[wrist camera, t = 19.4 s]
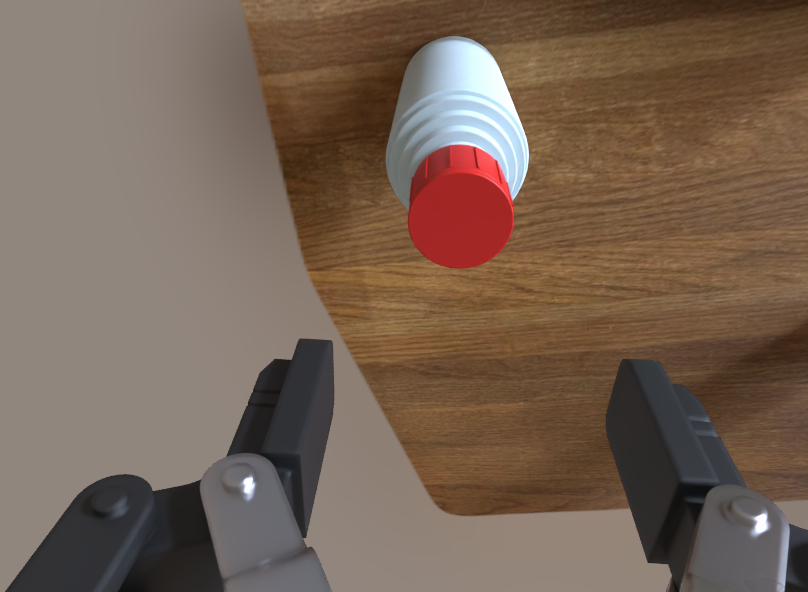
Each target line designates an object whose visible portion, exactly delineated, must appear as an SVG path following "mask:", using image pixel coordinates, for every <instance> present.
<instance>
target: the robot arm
mask: <svg viewBox="0 0 808 592" xmlns="http://www.w3.org/2000/svg"><path fill="white" fill-rule="evenodd" d="M333 365H334V364H333V343H332V341H331V340H318V339H317V340H316V339H299V341H298V343H297V346H296V349H295V352H294V355H293V358H292V360H284V359H274V360H273V361H272V362H271V363H270V364H269V365H268V366H267V367H266V368H265V369H264V370H262V371H261V372H260V374H259V377H258V379H257V381H256V384H255V387H254V389H253V393H252V394H251V396H250V399H249V401H248V406H247V407H246V409H245V411H244V414H243V416H242V419H241V421H240V424H239V427H238V429H237V432H236V434H235V437H234V439H233V441H232V444H231V446H230V449H229V451H228V454H227V456H226V457H225V458H223V459H221V460H219V461H217V462H216V463H214V464H213V465H212V466H211V467H210V468H208V470H207V471H206V472H205V474H204V475H203V477H202V479H201V480H199V481H196V482H194V483H191V484H187V485H183V486H178V487H173V488H167V489H162V490H157V491H152V488H151V486H150V484H149V483H148V482H147V481H145V480H144V479H143V478H141V477H138V476H134V475H127V474H123V475H115V476H110V477H106V478H103V479H101V480H99V481H96V482H95V483H93V484H91V485H90V486H88V487H87V488H85V489H84V490H83V491H82V492H81V493H79V494H78V495H77V497H76V498H75V499H74V500H73V502H72V503H71V504H70V506H69V507H68V508H67V510H66V511H65V512H64V514H63V515H62V516H61V518H60V519H59V520H58V522H57V523H56V524H55V526H54V527H53V528H52V530H51V531H50V532H49V534H48V535H47V536H46V538H45V539H44V540H43V542H42V543H41V545H40V546H39V547H38V548H37V550H36V551H35V552H34V554H33V555H32V556H31V558H30V559H29V561H28V562H27V563H26V564H25V566H24V567H23V569H22V570H21V571H20V572H19V574H18V575H17V577H16V578H15V579H14V581H13V582H12V583H11V585H10V586H9V587H8V589H7V590H6V591H5V592H332V590H331V588H330V585H329V583H328V581H327V578H326V575H325V573H324V570H323V568H322V566H321V563H320V561H319V558H318V556H317V554H316V552H315V550H314V549H313V548H312V547H309V548H307V546H306V544H305V542H304V540H303V538H306V536H307V531H308V526H309V522H310V517H311V513H312V508H313V504H314V499H315V494H316V490H317V485H318V480H319V476H320V472H321V467H322V462H323V458H324V453H325V449H326V444H327V439H328V434H329V430H330V425H331V421H332V416H333V408H334V407H333V406H334V366H333ZM606 432H607V437H608V441H609V444H610V447H611V450H612V453H613V456H614V459H615V462H616V466H617V469H618V472H619V475H620V478H621V481H622V484H623V487H624V490H625V493H626V497H627V500H628V503H629V506H630V509H631V512H632V515H633V518H634V521H635V524H636V527H637V531H638V534H639V537H640V540H641V543H642V546H643V549H644V552H645V555H646V559H647V561H648V563H659V564H668V565H669V568H670V571H671V574H672V577H671V580H670V582H669V584H668V587H667V590H666V592H808V530H806V529H802V528H799V527H796V526H794V525H791V524H789V523H788V521H787V519H786V517H785V516H784V514H783V513H782V511H781V510H780V509H779V508H778V507H777V506H776V505H775V504H774V503H773V502H772V501H771V500H769V499H768V498H766V497H765V496H763V495H762V494H760V493H758V492H756V491H754V490H752V489H749V488H747V486H746V484H745V483H744V481H743V479H742V477H741V475H740V473H739V472H738V470H737V468H736V466H735V464H734V462H733V460H732V459H731V457H730V455H729V453H728V451H727V449H726V447H725V446H724V444H723V442H722V440H721V438H720V437H718V433H717V431H716V429H715V427H714V425H713V423H712V422H710V418H709V416H708V414H707V412H706V410H705V409H704V407H703V405H702V403H701V401H700V400H699V399H698V398H697V397H696V396H694V395H693V394H692V393H691V392H690V391H689V390H688V389H687V388H686V387H684V386H683V385H680V384H671V382H670V380H669V378H668V376H667V374H666V372H665V370H664V368H663V366H662V364H661V363H660V362H659V361H654V360H637V359H623V360H622V361H621V363H620V366H619V369H618V373H617V376H616V380H615V383H614V387H613V391H612V394H611V398H610V401H609V405H608V409H607V414H606Z"/></svg>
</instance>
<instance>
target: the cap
mask: <svg viewBox="0 0 808 592" xmlns="http://www.w3.org/2000/svg"><path fill="white" fill-rule="evenodd" d="M409 201H410V205H409V214H408V228H409V233H410V236H411V239H412V241H413V243H414V244H415V246H416V247H417V249H418V250H419V251H420V252H421V253H422V254H423V255H424V256H425V257H426V258H428V259H429V260H431V261H432V262H434V263H436V264H439V265H441V266H445V267H449V268H470V267H475V266H478V265H481V264H483V263H485V262H487V261H489V260H490V259H492V258H493V257H495V256H496V255H497V254H498V253H499V252H500V251H501V250H502V249H503V248H504V246H505V245H506V243H507V242H508V240H509V238H510V235H511V233H512V229H513V223H514V215H513V209H512V207H514V206H513V202H512V198H511V194H510V190H509V186H508V182H506V180H505V176H504V173H503V171H502V169H501V167H500V165H499V164H498V161H497V160H495V159H494V158H493V157H492V156H491V155H490V154H488V153H487V152H485V151H484V150H482V149H480V148H477V147H476V146H475V147H474V146H471V145H464V144H456V145H449V146H445V147H442V148H440V149H438V150H436V151H434V152H432V153H431V154H430V155H428V156H426V157H425V159H424V160H423V161H422V162H421V164H420V165H419V166H418V168H417V170H416V172H415V174H414V177H413V176H412V180H411V189H410V197H409Z"/></svg>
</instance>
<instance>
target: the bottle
mask: <svg viewBox="0 0 808 592" xmlns="http://www.w3.org/2000/svg"><path fill="white" fill-rule="evenodd" d="M456 144H464V145H471V146H474V147H475V146H476V147H477V148H480V149H482V150H484V151H485V152H487V153H488V154H490V155H491V156H492V157H493V158H494V159H495V160H497V161H498V164H499V165H500V167H501V169H502V171H503V173H504V176H505V180H506V182H508V186H509V190H510V194H511V198H512V201H513V199H514V198H515V196H516V195H517V193H518V191H519V189H520V187H521V185H522V183H523V181H524V178H525V175H526V171H527V167H528V157H529V155H528V144H527V139H526V136H525V133H524V130H523V128H522V125H521V123H520V120H519V117H518V115H517V112H516V110H515V107H514V105H513V102H512V100H511V97H510V95H509V92H508V90H507V87H506V85H505V82H504V79H503V77H502V74H501V72H500V69H499V67H498V65H497V63H496V61H495V59H494V57H493V56H492V55H491V53H490V52H489V51H488V50H487V49H486V48H485V47H483V46H482V45H481V44H479V43H477V42H476V41H473V40H471V39H468V38H465V37H459V36H448V37H442V38H439V39H436V40H434V41H431V42H429V43H428V44H426V45H425V46H423V47H422V48H421V49H420V50H419V51H418V52H417V53H416V54H415V55H414V56H413V58H412V59H411V60H410V62H409V64H408V66H407V68H406V71H405V73H404V78H403V82H402V86H401V90H400V94H399V98H398V103H397V107H396V111H395V115H394V119H393V123H392V128H391V132H390V136H389V140H388V145H387V149H386V169H387V174H388V178H389V181H390V184H391V186H392V188H393V190H394V192H395V194H396V195H397V197H398V198H399V200H400V201H401V202H402V204H403V205H404V206H405V207H406V208H407V209H408V210H409V205H410V201H409V197H410V189H411V180H412V176H413V177H414V174H415V172H416V170H417V168H418V166H419V165H420V164H421V162H422V161H423V160H424V159H425V157H426V156H428V155H430V154H431V153H432V152H434V151H436V150H438V149H440V148H442V147H445V146H449V145H456Z"/></svg>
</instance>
